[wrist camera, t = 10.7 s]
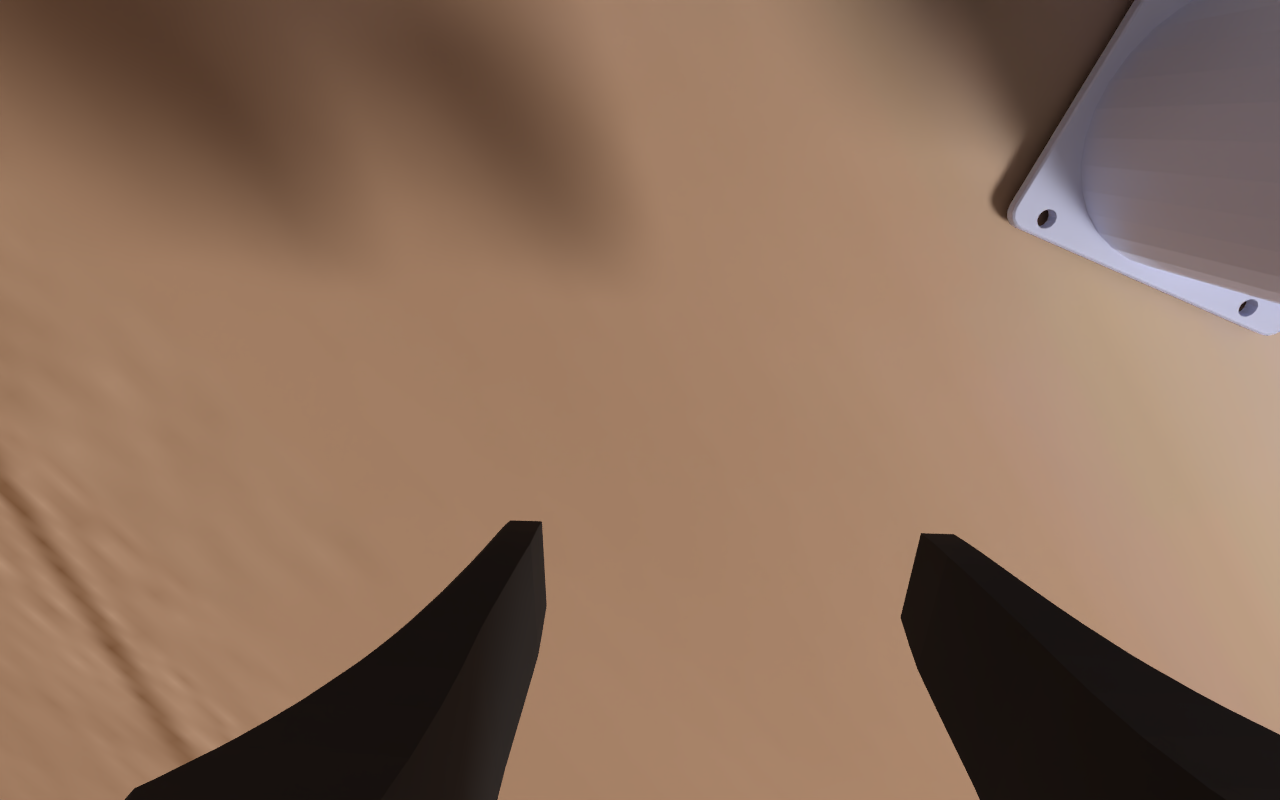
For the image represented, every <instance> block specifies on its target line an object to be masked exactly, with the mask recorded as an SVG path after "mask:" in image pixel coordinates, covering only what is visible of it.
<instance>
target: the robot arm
mask: <svg viewBox="0 0 1280 800" xmlns="http://www.w3.org/2000/svg"><path fill="white" fill-rule="evenodd" d="M1045 210H1048V214H1049V217H1048V219H1047V221H1046V222H1045V223H1044V224H1043V225H1041V226H1038V223H1037V219H1038V216H1039V215H1040V214H1041V213H1042V212H1043V211H1045ZM1007 218H1008V221H1009V223H1010V224H1011V225H1012V226H1014V227H1015V228H1017V229H1020V230H1022V231H1024V232H1026V233H1029V234H1031V235H1033V236H1036V237H1038V238H1040V239H1042V240H1045V241H1047V242H1049V243H1052V244H1054V245H1056V246H1058V247H1061V248H1063V249H1065V250H1068V251H1070V252H1072V253H1074V254H1077V255H1079V256H1081V257H1084V258H1086V259H1088V260H1091V261H1093V262H1095V263H1097V264H1100V265H1102V266H1104V267H1107V268H1109V269H1111V270H1113V271H1116V272H1118V273H1120V274H1123V275H1125V276H1127V277H1129V278H1132V279H1134V280H1136V281H1139V282H1141V283H1143V284H1145V285H1148V286H1150V287H1152V288H1155V289H1157V290H1159V291H1161V292H1164V293H1166V294H1168V295H1171V296H1173V297H1175V298H1177V299H1180V300H1182V301H1184V302H1187V303H1189V304H1191V305H1193V306H1196V307H1198V308H1200V309H1203V310H1205V311H1207V312H1209V313H1212V314H1214V315H1216V316H1219V317H1221V318H1223V319H1225V320H1228V321H1230V322H1232V323H1235V324H1237V325H1239V326H1241V327H1244V328H1246V329H1248V330H1251V331H1253V332H1256V333H1259V334H1262V335H1267V336H1268V335H1273V334H1276V333H1278V332H1280V0H1134V2H1133V3H1132V5H1131V7H1130V8H1129V10H1128V12H1127V13H1126V15H1125V17H1124V18H1123V20H1122V22H1121V23H1120V25H1119V26H1118V28H1117V30H1116V31H1115V33H1114V35H1113V36H1112V38H1111V40H1110V41H1109V43H1108V44H1107V46H1106V48H1105V49H1104V51H1103V53H1102V54H1101V56H1100V58H1099V59H1098V61H1097V63H1096V64H1095V66H1094V67H1093V69H1092V71H1091V72H1090V74H1089V76H1088V77H1087V79H1086V81H1085V82H1084V84H1083V85H1082V87H1081V89H1080V90H1079V92H1078V94H1077V95H1076V97H1075V99H1074V100H1073V102H1072V104H1071V105H1070V107H1069V108H1068V110H1067V112H1066V113H1065V115H1064V117H1063V118H1062V120H1061V122H1060V123H1059V125H1058V126H1057V128H1056V130H1055V131H1054V133H1053V135H1052V136H1051V138H1050V140H1049V141H1048V143H1047V145H1046V146H1045V148H1044V149H1043V151H1042V153H1041V154H1040V156H1039V158H1038V159H1037V161H1036V163H1035V164H1034V166H1033V167H1032V169H1031V171H1030V172H1029V174H1028V176H1027V177H1026V179H1025V181H1024V182H1023V184H1022V186H1021V187H1020V189H1019V190H1018V192H1017V194H1016V195H1015V197H1014V199H1013V200H1012V202H1011V204H1010V206H1009V208H1008V211H1007ZM1245 301H1246V305H1245V307H1244V308H1243V309H1242V310H1241V311H1239V307H1240V305H1241V304H1242V303H1243V302H1245ZM545 611H546V588H545V570H544V552H543V534H542V522H541V521H509V522H508V523H507V524H506V525H505V526H504V527H503V528H502V529H501V530H500V531H499V532H498V533H497V535H496V536H495V537H494V538H493V539H492V540H491V541H490V542H489V543H488V544H487V546H486V547H485V548H484V549H483V550H482V551H481V552H480V553H479V554H478V555H477V556H476V558H475V559H474V560H473V561H472V562H471V563H470V564H469V565H468V566H467V567H466V568H465V569H464V570H463V571H462V572H461V573H460V574H459V575H458V576H457V577H456V578H455V579H454V580H453V581H452V582H451V583H450V584H449V585H448V586H447V587H446V588H445V589H444V590H443V591H442V592H441V593H440V594H439V595H438V596H437V597H436V598H435V599H434V600H433V601H431V602H430V603H429V604H428V605H427V606H426V607H425V608H424V609H423V610H422V611H421V612H419V613H418V614H417V615H416V616H415V617H414V618H413V619H412V620H411V621H410V622H408V623H407V624H406V625H405V626H404V627H403V628H401V629H400V630H399V631H398V632H397V633H395V634H394V635H393V636H392V637H391V638H389V639H388V640H387V641H386V642H384V643H383V644H382V645H381V646H379V647H378V648H377V649H375V650H374V651H373V652H371V653H370V654H369V655H368V656H366V657H365V658H364V659H362V660H361V661H359V662H358V663H357V664H355V665H354V666H352V667H351V668H349V669H348V670H346V671H345V672H343V673H342V674H340V675H339V676H337V677H336V678H334V679H333V680H331V681H330V682H328V683H327V684H325V685H324V686H322V687H321V688H319V689H318V690H316V691H315V692H313V693H312V694H310V695H309V696H307V697H306V698H304V699H303V700H301V701H300V702H298V703H296V704H295V705H293V706H291V707H290V708H288V709H286V710H285V711H283V712H281V713H280V714H278V715H276V716H274V717H273V718H271V719H269V720H268V721H266V722H264V723H262V724H261V725H259V726H257V727H255V728H253V729H252V730H250V731H248V732H246V733H244V734H243V735H241V736H239V737H237V738H235V739H234V740H232V741H230V742H228V743H226V744H224V745H222V746H220V747H218V748H217V749H215V750H213V751H210V752H208V753H206V754H204V755H202V756H200V757H198V758H196V759H194V760H192V761H190V762H188V763H186V764H184V765H182V766H180V767H178V768H176V769H174V770H172V771H170V772H168V773H166V774H164V775H162V776H160V777H158V778H156V779H154V780H152V781H150V782H147V783H145V784H143V785H141V786H139V787H137V788H134V790H133V791H132V792H131V793H130V794H129V795H128V796H127V798H126V799H125V800H497V799H498V795H499V791H500V787H501V783H502V779H503V775H504V771H505V767H506V764H507V760H508V757H509V753H510V750H511V747H512V743H513V740H514V736H515V733H516V730H517V726H518V723H519V719H520V716H521V713H522V709H523V706H524V702H525V699H526V696H527V692H528V689H529V685H530V682H531V678H532V675H533V671H534V668H535V664H536V661H537V657H538V653H539V647H540V642H541V636H542V630H543V624H544V618H545ZM901 620H902V623H903V627H904V630H905V633H906V636H907V639H908V643H909V646H910V649H911V652H912V654H913V657H914V660H915V663H916V666H917V669H918V671H919V673H920V675H921V677H922V680H923V682H924V684H925V686H926V688H927V690H928V692H929V694H930V697H931V699H932V701H933V703H934V705H935V707H936V709H937V711H938V713H939V715H940V717H941V719H942V721H943V724H944V726H945V728H946V730H947V732H948V734H949V736H950V738H951V740H952V742H953V744H954V746H955V748H956V750H957V752H958V754H959V756H960V759H961V761H962V763H963V765H964V767H965V769H966V771H967V773H968V775H969V777H970V779H971V781H972V783H973V785H974V787H975V790H976V792H977V794H978V796H979V799H980V800H1280V735H1279V734H1277V733H1275V732H1273V731H1271V730H1269V729H1267V728H1265V727H1263V726H1261V725H1259V724H1257V723H1255V722H1253V721H1251V720H1249V719H1247V718H1245V717H1243V716H1241V715H1239V714H1237V713H1235V712H1233V711H1231V710H1229V709H1227V708H1225V707H1223V706H1221V705H1219V704H1218V703H1216V702H1214V701H1212V700H1210V699H1208V698H1206V697H1204V696H1202V695H1201V694H1199V693H1197V692H1195V691H1193V690H1191V689H1190V688H1188V687H1186V686H1184V685H1183V684H1181V683H1179V682H1177V681H1176V680H1174V679H1172V678H1170V677H1169V676H1167V675H1165V674H1163V673H1161V672H1160V671H1158V670H1156V669H1154V668H1153V667H1151V666H1149V665H1147V664H1146V663H1144V662H1142V661H1141V660H1139V659H1137V658H1136V657H1134V656H1132V655H1131V654H1129V653H1128V652H1126V651H1124V650H1123V649H1121V648H1120V647H1118V646H1116V645H1115V644H1113V643H1112V642H1110V641H1109V640H1107V639H1106V638H1104V637H1102V636H1101V635H1099V634H1098V633H1096V632H1095V631H1093V630H1091V629H1090V628H1088V627H1087V626H1085V625H1084V624H1082V623H1081V622H1079V621H1078V620H1076V619H1075V618H1073V617H1072V616H1070V615H1069V614H1067V613H1066V612H1064V611H1063V610H1062V609H1060V608H1059V607H1057V606H1056V605H1054V604H1053V603H1051V602H1050V601H1049V600H1047V599H1046V598H1044V597H1043V596H1041V595H1040V594H1039V593H1037V592H1036V591H1034V590H1033V589H1032V588H1030V587H1029V586H1027V585H1026V584H1025V583H1023V582H1022V581H1020V580H1019V579H1018V578H1016V577H1015V576H1013V575H1012V574H1011V573H1009V572H1008V571H1006V570H1005V569H1004V568H1002V567H1001V566H999V565H998V564H997V563H995V562H994V561H992V560H991V559H990V558H988V557H987V556H985V555H984V554H983V553H981V552H980V551H978V550H977V549H975V548H974V547H973V546H971V545H970V544H968V543H967V542H965V541H964V540H962V539H960V538H959V537H957V536H956V535H954V534H925V533H921V536H920V540H919V544H918V548H917V552H916V556H915V560H914V564H913V569H912V573H911V577H910V581H909V585H908V589H907V593H906V597H905V602H904V606H903V610H902V614H901Z"/></svg>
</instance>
